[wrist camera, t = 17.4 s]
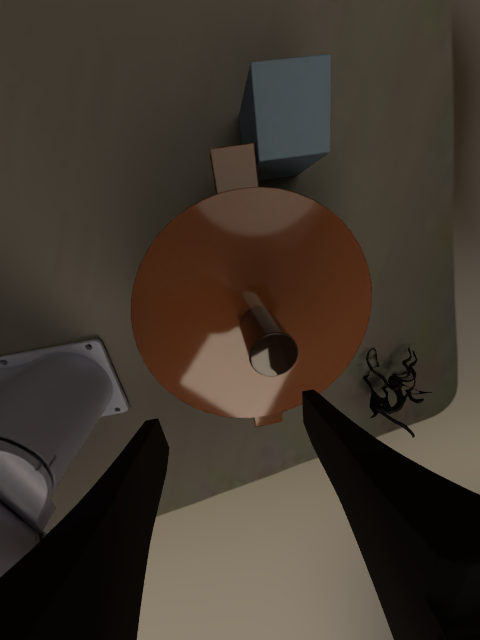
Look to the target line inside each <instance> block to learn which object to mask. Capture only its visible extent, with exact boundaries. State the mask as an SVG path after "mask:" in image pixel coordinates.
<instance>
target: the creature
mask: <svg viewBox="0 0 480 640" xmlns="http://www.w3.org/2000/svg"><path fill="white" fill-rule="evenodd" d="M373 349H374V348H372V349H370V350H369V351H368V353H367V357H366V360H367V364H368V366H369V368H370V371H372V372H373V373H374V374H376V375H377V376H379V377H380V378H382V379H383V381H384V382H385V384H386V385H387V386H385V387H383V391H384V392H385V393H386V397H385V398H381V397H379V396H378V395H377V393H376V392H374V390H373V388H372V386H371V383H370V382H369V381H368V380H367V377H368V376H369V374H368V375H366V376H365V377H364V380H365V382H366V383H367V384H368V385H369V387H370V388H371V398H370V408H371V410H372V412H373V413H374V415H373V416H372V417H370V418H373V417H375V416H376V415H377V414H378V413H380V414H382V415H383V416H385V417H386V418H388V419H389V420H391V421H392V422H394V423H395V424H398V425H399V426H401V427H403V428H404V429H406V430H407V431H408V432H409V433H410V434H411V435H412V436H413V437H415V436H414V433H413V432H412V431H411V430H410V429H409V428H408V427H407V426H406V425H405V424H403V423H401V422H399V421H397V420H395V419H393V418H392V417H390V416H389V415H387V414H386V413H388V414H391V413H394V412H397V411H399V410H401V408H402V407H403V405H404V403H405V401H406V398H407V396H408V397H409V398H410V400H411V401H413V402H415V403H420V402H422V401H424V399H417V400H416V399H414V398H413V397H412V395H411V391H412V390H413V388H414V386H415V381H414V386H413V387H411V388H410V387H409V388H410V389H408V390H405V391H406V392H407V394H406V395H405V397H404V396H403V394H402V390H401V387H402V386H406V385H404V384H402V382H410V381H413V380H415V378H416V372H415V370H414V369H413V368H412V366H414V365H415V364H416V362H417V358H416V355H415V353H414V351H413V355H414V356H415V358H416V360H415V361H414V362H413V363H411V364H410V365H409V367H408V365H407V364H406V363H407V362H408V361H410V360H411V358H412V356H411V352H410V348H409V347H408V350H409V353H410V357H409V358H408V359H406V360H404V361H403V362H402V364H403V365H404V366H405V367H406V369H407V371H408V372H406V373H408V374H407V376H406V377H408V376H410V373H412V374H413V377H414V378H413V379H412V380H410V381H407V380H403V379H400V378H402V377H398V376H397V375H404V374H406V373H403V374H393V375H392V376H390V377H389V378H388V382H389V384H390V385H389V384H388V382H387V380H386V379H385V378H384V376H382V375H381V374H379V373H378V372H376V371H375V370H374V369H373V368H374V367H373V368H372V366H371V364H370V363H369V361H368V357H369V352H370V351H371V350H373ZM374 350H375V349H374ZM375 351H376V350H375ZM376 360H377V353H376ZM376 367H380V366H379V363H378V361H377V366H376ZM410 370H411V371H410ZM370 371H369V373H370ZM406 377H403V378H406ZM387 387H389V388H390V389H391V390H393V391H394V392H395V394H396V396H397V403H396V404H395V406H394V407H391V406H390V404H389V401H388V392H387V391H386V388H387ZM407 387H408V386H407ZM415 390H416V389H415ZM417 391H418V390H417ZM419 392H420V393H417V394H423V393H432V392H422V391H419ZM380 404H382V405H383V406H382V405H380ZM384 411H385V412H386V413H385V412H384Z"/></svg>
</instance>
